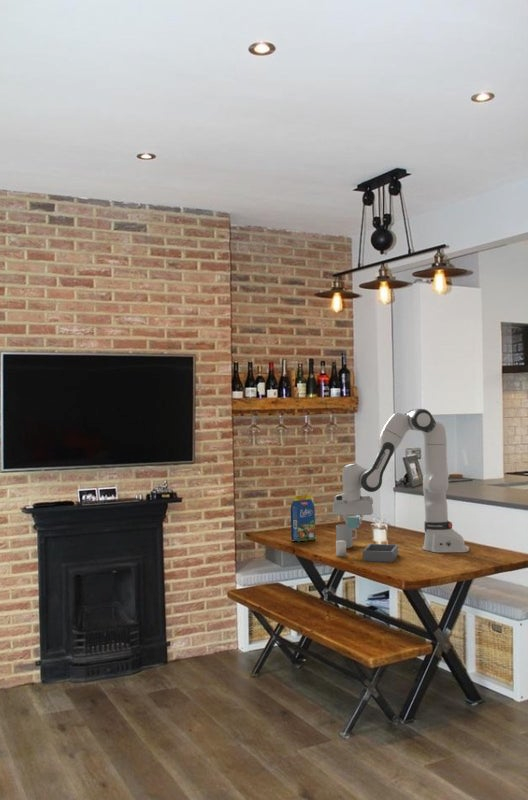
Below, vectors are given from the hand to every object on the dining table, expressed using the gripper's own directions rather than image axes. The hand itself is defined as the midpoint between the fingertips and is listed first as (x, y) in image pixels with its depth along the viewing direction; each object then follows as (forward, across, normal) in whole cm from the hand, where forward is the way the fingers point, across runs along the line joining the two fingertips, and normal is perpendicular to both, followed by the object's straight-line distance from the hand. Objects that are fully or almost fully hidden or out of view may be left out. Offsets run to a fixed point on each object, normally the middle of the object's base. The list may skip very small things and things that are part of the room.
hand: (353, 523), depth 372 cm
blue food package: (+14, +34, -26) cm, 45 cm away
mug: (+14, +7, -14) cm, 21 cm away
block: (+2, 0, 0) cm, 2 cm away
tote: (+14, -15, +13) cm, 25 cm away
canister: (+14, +5, +10) cm, 18 cm away
